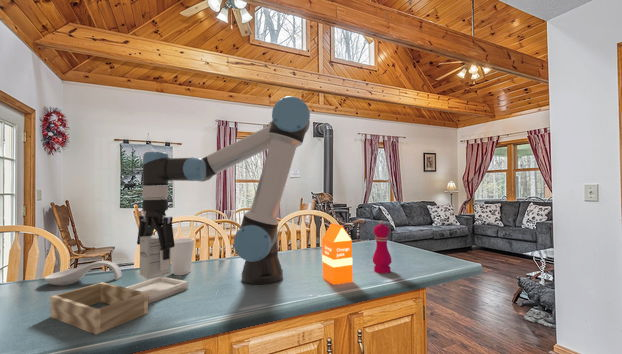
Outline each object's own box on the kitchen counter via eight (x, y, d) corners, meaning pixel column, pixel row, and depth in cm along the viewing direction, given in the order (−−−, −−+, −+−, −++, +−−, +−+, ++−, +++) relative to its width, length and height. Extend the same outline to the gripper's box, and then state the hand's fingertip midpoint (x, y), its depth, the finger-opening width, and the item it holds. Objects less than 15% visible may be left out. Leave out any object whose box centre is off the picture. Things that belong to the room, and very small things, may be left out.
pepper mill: (394, 270, 119) (393, 219, 120) (388, 275, 113) (387, 221, 114) (376, 267, 123) (375, 218, 124) (370, 272, 117) (369, 220, 117)
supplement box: (138, 275, 98) (139, 236, 99) (162, 270, 104) (162, 233, 104) (147, 280, 93) (147, 239, 94) (171, 274, 99) (171, 236, 99)
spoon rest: (36, 290, 103) (36, 269, 103) (56, 279, 114) (56, 260, 115) (114, 283, 109) (114, 263, 109) (125, 274, 120) (125, 256, 120)
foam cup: (198, 269, 124) (198, 238, 125) (186, 276, 115) (186, 242, 116) (176, 269, 125) (176, 238, 126) (163, 276, 116) (163, 242, 116)
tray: (188, 288, 101) (188, 281, 101) (149, 303, 89) (149, 295, 89) (161, 283, 108) (161, 276, 108) (121, 296, 95) (121, 288, 95)
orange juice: (333, 285, 103) (332, 226, 103) (322, 277, 111) (321, 223, 111) (353, 281, 106) (352, 224, 107) (340, 274, 114) (339, 222, 115)
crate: (147, 313, 82) (147, 293, 82) (95, 334, 71) (95, 311, 71) (102, 300, 92) (102, 282, 92) (50, 316, 81) (50, 296, 81)
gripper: (187, 198, 98) (187, 269, 97) (146, 197, 107) (145, 261, 107) (166, 199, 91) (166, 275, 90) (124, 198, 101) (124, 267, 100)
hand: (155, 267), depth 99 cm, fingers closed on supplement box, 8 cm apart
